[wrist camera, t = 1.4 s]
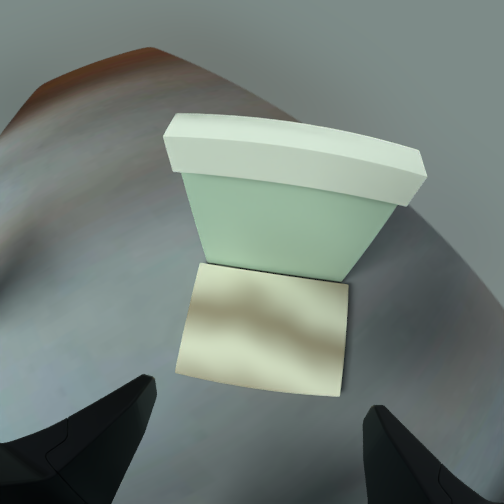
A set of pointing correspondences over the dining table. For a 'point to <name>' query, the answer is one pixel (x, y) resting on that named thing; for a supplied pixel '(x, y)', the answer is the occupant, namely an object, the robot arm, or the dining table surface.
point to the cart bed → (265, 331)
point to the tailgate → (288, 191)
